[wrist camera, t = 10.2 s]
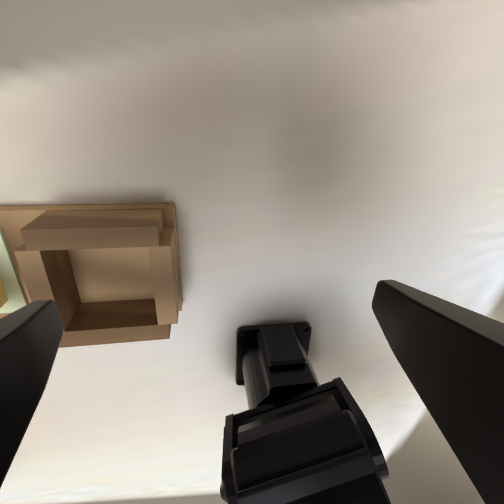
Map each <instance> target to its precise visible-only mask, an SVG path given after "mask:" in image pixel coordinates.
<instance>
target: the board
mask: <svg viewBox="0 0 504 504" xmlns="http://www.w3.org/2000/svg"><path fill="white" fill-rule="evenodd" d="M132 209H163V217H164V227H174V233H175V245H176V256H177V268H178V280H179V292H180V301H179V311H182V292H181V279H180V267H179V255H178V243H177V230H176V218H175V206H174V203H165V204H86V205H7V206H0V280H1V282H2V285H3V287H4V290H5V292H6V295H7V298H8V301H7V302H6V303H5V304H4V305H3V306H2V307H1V308H0V319H1V318H3V317H4V316H6V315H8V314H10V313H12V312H14V311H16V310H18V309H20V308H22V307H23V306H25V305H27V304H29V303H31V299H30V296H29V293H28V290H27V287H26V285H25V282H24V279H23V276H22V273H21V270H20V267H19V265H18V262H17V259H16V256H15V253H14V251H15V250H16V249H18V248H19V247H20V246H21V245H23V244H24V242H23V239H22V236H21V232H20V229H21V228H23V227H24V226H26V225H27V224H28V223H30V222H31V221H33V220H34V219H35V218H37V217H38V216H40V215H41V214H42V213H44V212H45V211H67V210H132ZM68 254H69V258H70V262H71V265H72V269H73V273H74V277H75V281H76V284H77V288H78V292H79V296H80V300H81V303H86V302H102V301H119V300H135V299H152V298H155V297H154V290H153V282H152V274H151V267H150V259H149V251H148V247H131V248H102V249H73V250H68Z"/></svg>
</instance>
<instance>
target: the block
mask: <svg viewBox="0 0 504 504" xmlns="http://www.w3.org/2000/svg"><path fill="white" fill-rule="evenodd" d="M7 301H8V298H7V295H6V292H5V290H4V287H3V285H2V282H1V280H0V308H1V307H2V306H3V305H4V304H5V303H6V302H7Z"/></svg>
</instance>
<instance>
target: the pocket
mask: <svg viewBox="0 0 504 504" xmlns="http://www.w3.org/2000/svg"><path fill="white" fill-rule="evenodd" d="M20 232H21V236H22V239H23V242H24V244H23V245H21V246H20V247H19V248H18V249H16V250H15V251H14V253H15V256H16V259H17V262H18V265H19V267H20V270H21V273H22V276H23V279H24V282H25V285H26V287H27V290H28V293H29V296H30V299H31V302H33V301H36V300H48V299H52V300H54V301H55V302H56V304H57V306H58V309H59V313H60V316H61V319H62V322H63V335H62V338H61V341H60V344H59V348H61V347H74V346H86V345H98V344H110V343H122V342H135V341H147V340H159V339H169V338H170V330H171V324H177V323H178V312H179V301H180V292H179V280H178V268H177V256H176V245H175V233H174V227H164V217H163V209H132V210H67V211H45V212H44V213H42V214H41V215H40V216H38V217H37V218H35V219H34V220H33V221H31V222H30V223H28V224H27V225H26V226H24V227H23V228H21V229H20ZM131 247H148V251H149V259H150V267H151V274H152V282H153V290H154V297H155V298H152V299H135V300H119V301H102V302H86V303H81V300H80V296H79V292H78V288H77V284H76V281H75V277H74V273H73V269H72V265H71V262H70V258H69V254H68V250H73V249H102V248H131Z"/></svg>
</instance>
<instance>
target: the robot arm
mask: <svg viewBox="0 0 504 504" xmlns="http://www.w3.org/2000/svg"><path fill="white" fill-rule="evenodd" d="M372 309H373V312H374V314H375V316H376V318H377V320H378V322H379V324H380V326H381V329H382V331H383V333H384V335H385V337H386V339H387V341H388V343H389V345H390V347H391V349H392V351H393V353H394V355H395V356H396V358H397V360H398V362H399V363H400V365H401V367H402V368H403V370H404V371H405V373H406V375H407V376H408V378H409V380H410V381H411V383H412V385H413V386H414V388H415V389H416V391H417V393H418V394H419V396H420V398H421V399H422V401H423V403H424V404H425V406H426V407H427V409H428V411H429V412H430V414H431V416H432V417H433V419H434V421H435V422H436V424H437V425H438V427H439V429H440V430H441V432H442V433H443V435H444V437H445V438H446V440H447V442H448V443H449V445H450V447H451V448H452V450H453V452H454V453H455V455H456V456H457V458H458V460H459V461H460V463H461V465H462V466H463V468H464V470H465V471H466V473H467V474H468V476H469V478H470V479H471V481H472V482H473V484H474V486H475V487H476V489H477V491H478V492H479V494H480V496H481V497H482V499H483V501H484V502H485V504H504V323H502V322H499V321H496V320H494V319H491V318H489V317H486V316H484V315H481V314H479V313H476V312H474V311H471V310H468V309H466V308H463V307H461V306H458V305H456V304H453V303H451V302H448V301H446V300H443V299H441V298H438V297H435V296H433V295H430V294H428V293H425V292H423V291H420V290H418V289H415V288H413V287H410V286H408V285H405V284H402V283H400V282H397V281H395V280H381V281H379V282H378V283H377V286H376V289H375V293H374V297H373V301H372ZM304 328H306V329H304ZM311 330H312V329H311V326H310V324H309V323H307V322H303V323H291V324H278V325H265V326H253V327H242V328H239V329H238V330H237V332H236V384H237V385H245V388H246V394H247V400H248V406H249V410H247V411H244V412H241V413H238V414H235V415H234V414H231V415H228V416H226V422H225V427H224V438H223V457H222V482H221V486H220V493H221V497H222V499H223V500H224V501H225V502H227V503H228V504H391V502H390V500H389V498H388V495H387V493H386V490H385V488H384V485H383V483H382V480H383V479H386V478H389V472H388V468H387V465H386V461H385V459H384V456H383V453H382V451H381V448H380V446H379V443H378V441H377V439H376V437H375V435H374V433H373V430H372V428H371V426H370V425H369V423H368V421H367V419H366V417H365V416H364V414H363V412H362V411H361V409H360V408H359V406H358V405H357V403H356V401H355V400H354V398H353V397H352V395H351V394H350V392H349V390H348V389H347V387H346V386H345V384H344V383H343V381H342V379H341V378H340V377H338V378H336V379H333V381H331V382H328V383H325V384H322V385H320V384H319V382H318V379H317V377H316V375H315V372H314V370H313V368H312V366H311V363H310V361H309V359H308V356H307V355H308V349H309V342H310V336H311ZM241 333H244V334H241ZM62 335H63V322H62V319H61V316H60V313H59V309H58V306H57V304H56V302H55V301H54V300H52V299H48V300H36V301H33V302H31V303H29V304H27V305H25V306H23V307H22V308H20V309H18V310H16V311H14V312H12V313H10V314H8V315H6V316H4V317H3V318H1V319H0V488H1V485H2V483H3V481H4V479H5V477H6V474H7V472H8V470H9V468H10V466H11V463H12V461H13V459H14V457H15V454H16V452H17V450H18V448H19V446H20V443H21V441H22V439H23V437H24V435H25V432H26V430H27V428H28V426H29V423H30V421H31V419H32V417H33V415H34V412H35V410H36V408H37V406H38V404H39V401H40V399H41V397H42V394H43V392H44V390H45V387H46V384H47V382H48V379H49V376H50V372H51V369H52V366H53V363H54V360H55V357H56V354H57V351H58V348H59V344H60V341H61V338H62Z"/></svg>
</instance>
